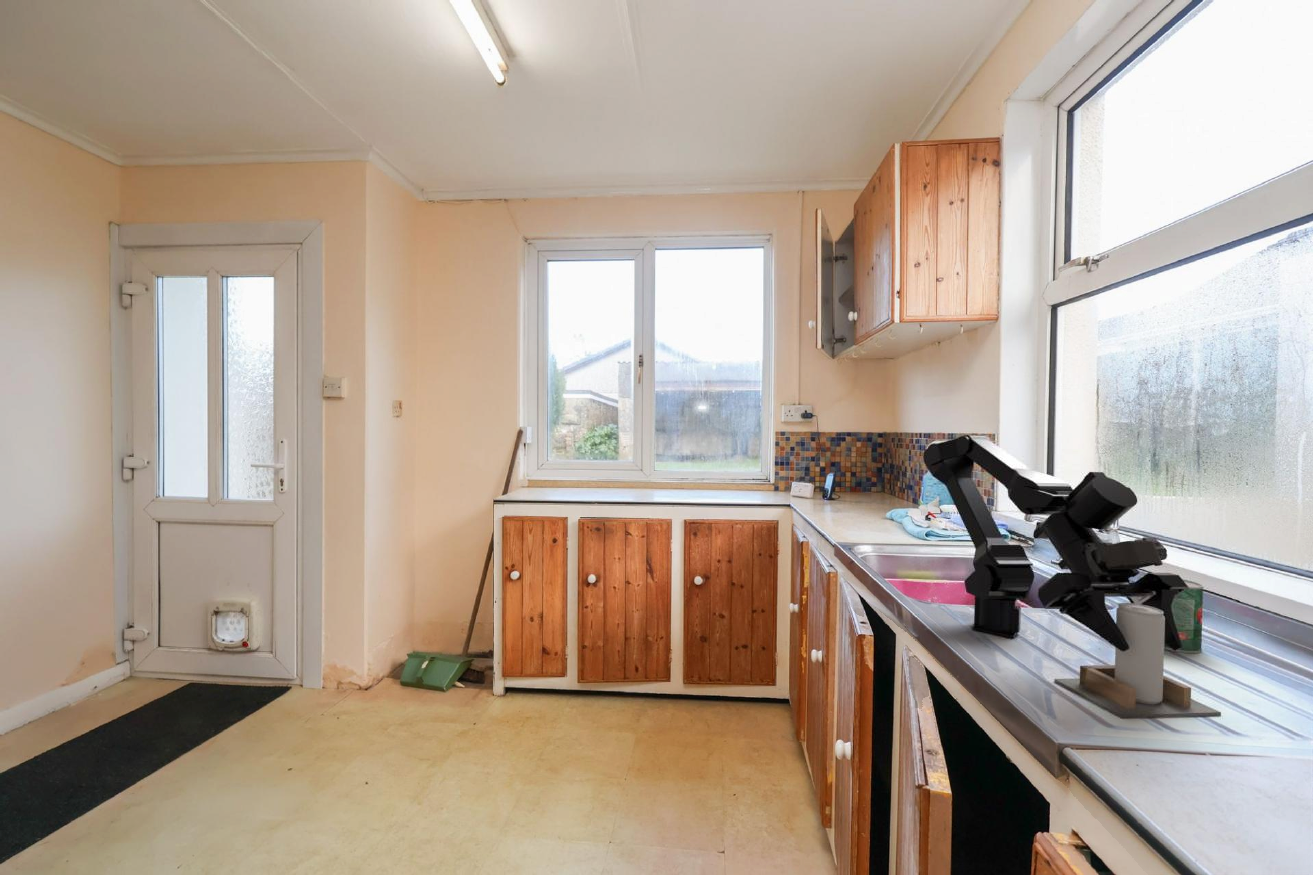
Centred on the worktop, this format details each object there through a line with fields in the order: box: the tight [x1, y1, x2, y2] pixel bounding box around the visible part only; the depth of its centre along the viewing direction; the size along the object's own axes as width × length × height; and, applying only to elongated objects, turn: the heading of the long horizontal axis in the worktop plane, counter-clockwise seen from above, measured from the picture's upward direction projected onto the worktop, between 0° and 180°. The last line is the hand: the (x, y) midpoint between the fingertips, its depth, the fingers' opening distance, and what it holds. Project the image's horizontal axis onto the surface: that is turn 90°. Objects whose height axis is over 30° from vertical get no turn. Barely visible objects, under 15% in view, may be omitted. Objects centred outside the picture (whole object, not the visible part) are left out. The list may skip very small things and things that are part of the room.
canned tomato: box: [1140, 574, 1204, 654], centre depth 93 cm, size 8×8×11 cm
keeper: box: [1053, 664, 1222, 719], centre depth 73 cm, size 10×14×3 cm
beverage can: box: [1114, 602, 1165, 705], centre depth 72 cm, size 5×5×12 cm
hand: (1152, 649), depth 70 cm, fingers open, 7 cm apart
